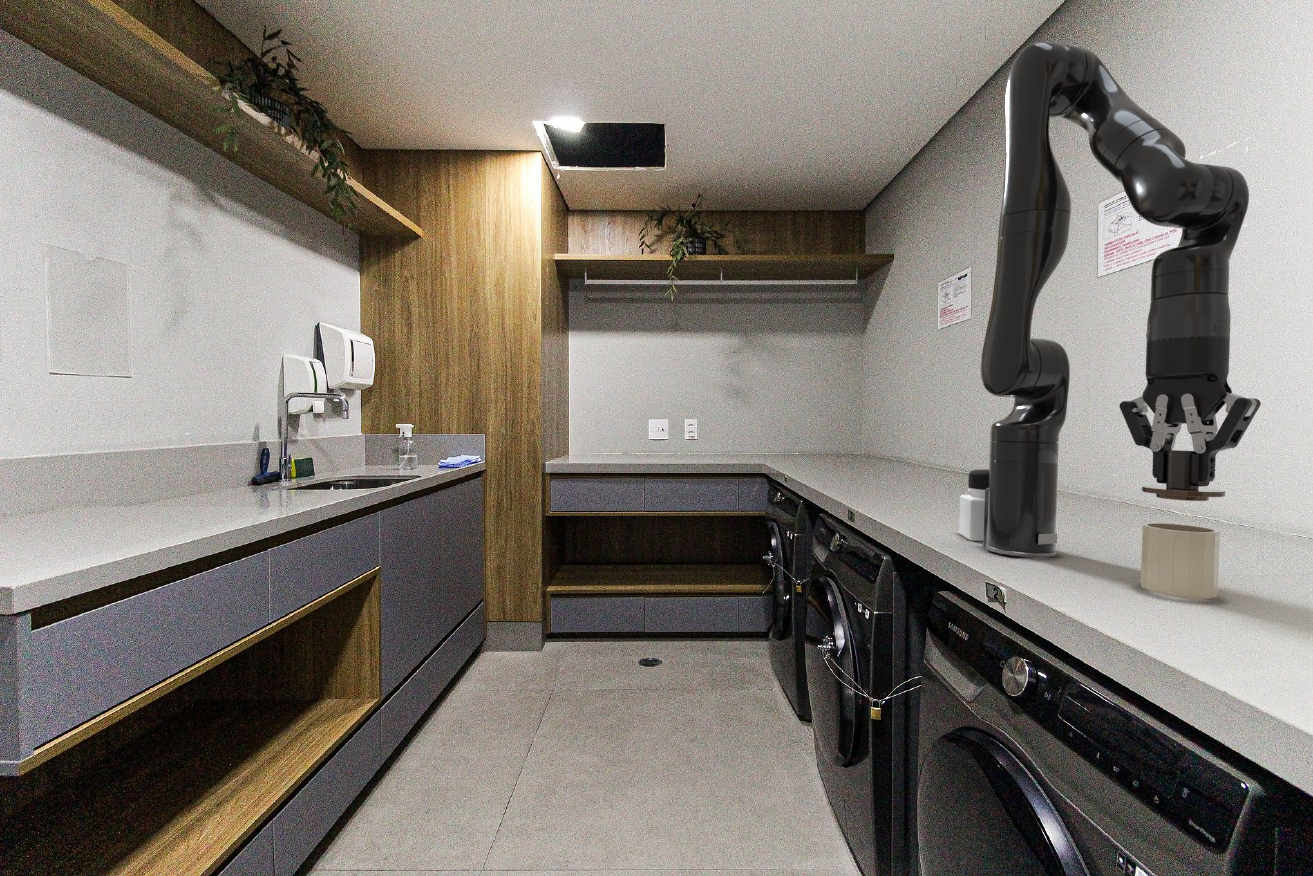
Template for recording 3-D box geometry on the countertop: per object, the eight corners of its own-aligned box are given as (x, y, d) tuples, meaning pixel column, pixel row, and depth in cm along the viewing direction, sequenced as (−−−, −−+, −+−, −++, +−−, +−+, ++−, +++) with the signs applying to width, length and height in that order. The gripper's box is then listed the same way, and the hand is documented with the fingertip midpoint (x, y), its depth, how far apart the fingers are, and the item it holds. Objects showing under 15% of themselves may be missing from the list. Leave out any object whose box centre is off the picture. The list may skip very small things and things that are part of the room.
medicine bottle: (1015, 543, 107) (1017, 472, 106) (969, 541, 108) (971, 470, 108) (1001, 536, 114) (1003, 469, 113) (958, 533, 115) (960, 467, 115)
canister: (1125, 587, 78) (1127, 523, 78) (1174, 586, 79) (1176, 522, 79) (1180, 604, 71) (1183, 533, 71) (1233, 602, 72) (1236, 532, 72)
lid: (1125, 495, 78) (1126, 448, 78) (1178, 495, 79) (1179, 449, 79) (1185, 502, 70) (1187, 451, 70) (1243, 502, 72) (1245, 452, 71)
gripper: (1282, 332, 69) (1276, 490, 70) (1142, 346, 82) (1138, 479, 83) (1242, 327, 66) (1236, 491, 67) (1104, 342, 80) (1099, 480, 80)
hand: (1182, 483), depth 75 cm, fingers closed on lid, 3 cm apart
